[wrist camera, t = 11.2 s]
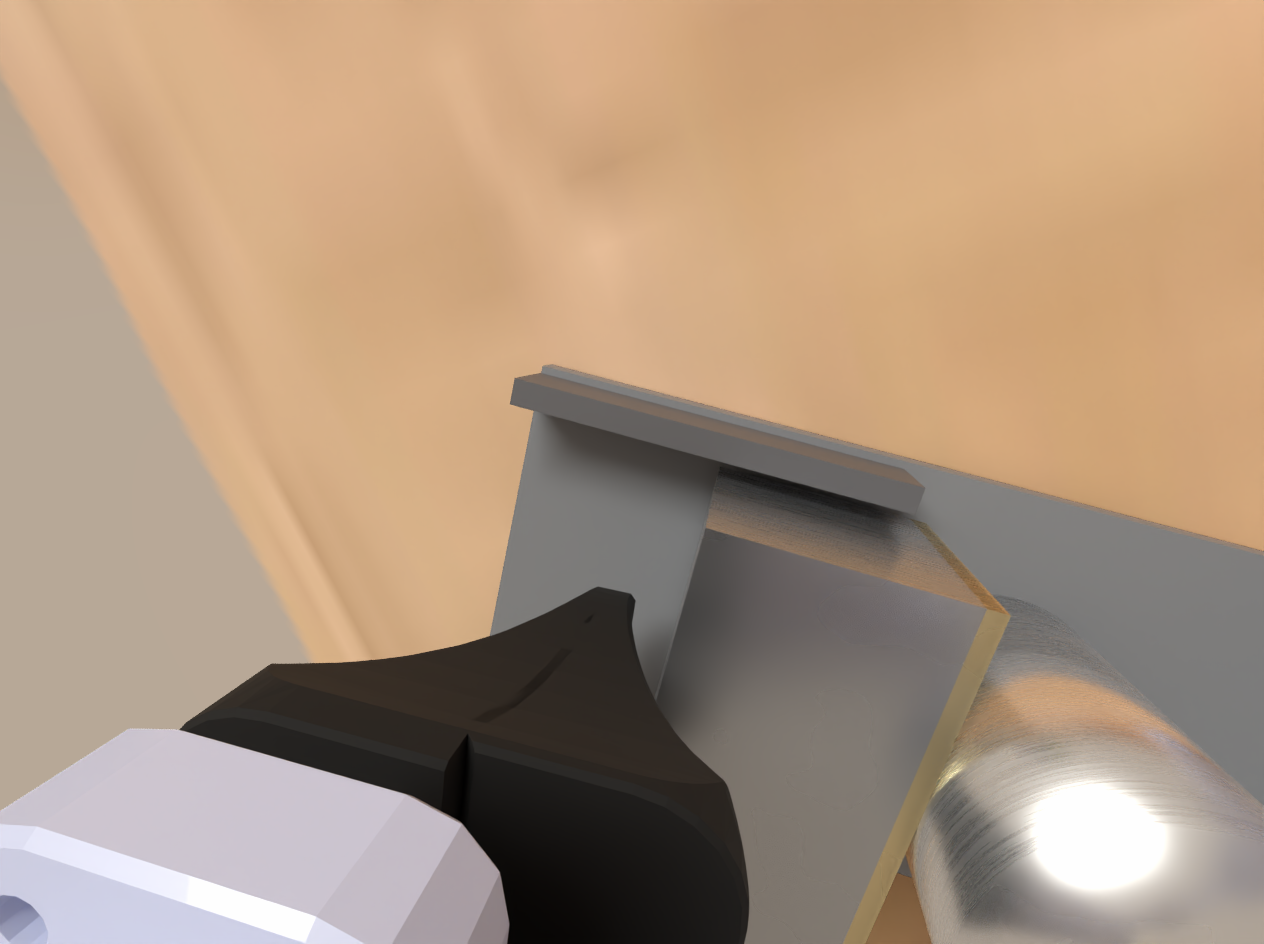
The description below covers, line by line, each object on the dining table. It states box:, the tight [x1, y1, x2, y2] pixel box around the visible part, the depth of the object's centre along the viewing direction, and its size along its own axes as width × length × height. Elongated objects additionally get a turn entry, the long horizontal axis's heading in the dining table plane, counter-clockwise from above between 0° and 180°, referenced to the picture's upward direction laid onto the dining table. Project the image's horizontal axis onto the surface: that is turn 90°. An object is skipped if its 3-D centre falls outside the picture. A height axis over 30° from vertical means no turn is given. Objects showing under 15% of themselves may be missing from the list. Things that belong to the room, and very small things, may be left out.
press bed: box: [490, 364, 1264, 878], centre depth 11 cm, size 18×9×6 cm, turn 77°
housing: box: [905, 595, 1264, 944], centre depth 9 cm, size 4×4×7 cm
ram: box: [654, 467, 1011, 944], centre depth 11 cm, size 4×7×4 cm, turn 167°
